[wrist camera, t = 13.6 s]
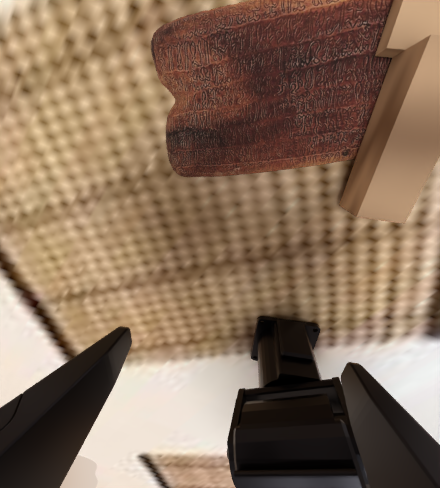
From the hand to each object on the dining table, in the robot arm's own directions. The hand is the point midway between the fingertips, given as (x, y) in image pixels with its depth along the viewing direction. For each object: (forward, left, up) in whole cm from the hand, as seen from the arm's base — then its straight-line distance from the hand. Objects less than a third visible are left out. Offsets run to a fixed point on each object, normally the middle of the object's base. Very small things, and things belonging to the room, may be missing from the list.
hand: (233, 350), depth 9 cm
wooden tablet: (+12, -6, -13) cm, 18 cm away
